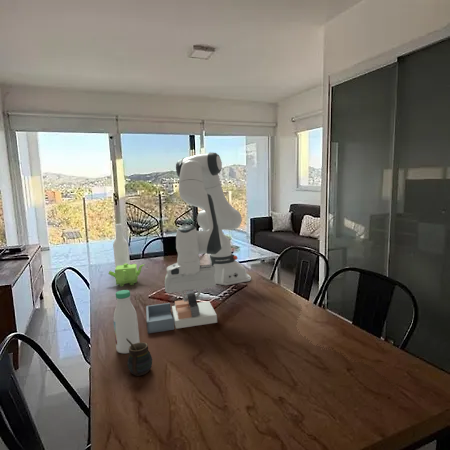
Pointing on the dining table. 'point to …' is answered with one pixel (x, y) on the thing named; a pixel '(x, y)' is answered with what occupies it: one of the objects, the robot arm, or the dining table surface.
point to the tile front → (184, 312)
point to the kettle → (126, 274)
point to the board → (205, 316)
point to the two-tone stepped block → (192, 303)
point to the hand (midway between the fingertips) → (191, 300)
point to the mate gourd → (139, 358)
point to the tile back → (180, 304)
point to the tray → (159, 318)
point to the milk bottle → (125, 322)
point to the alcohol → (120, 247)
